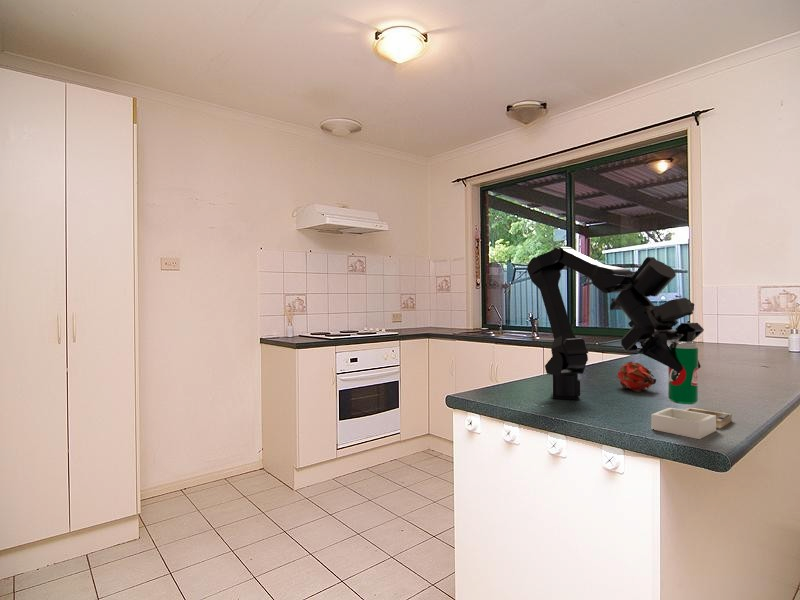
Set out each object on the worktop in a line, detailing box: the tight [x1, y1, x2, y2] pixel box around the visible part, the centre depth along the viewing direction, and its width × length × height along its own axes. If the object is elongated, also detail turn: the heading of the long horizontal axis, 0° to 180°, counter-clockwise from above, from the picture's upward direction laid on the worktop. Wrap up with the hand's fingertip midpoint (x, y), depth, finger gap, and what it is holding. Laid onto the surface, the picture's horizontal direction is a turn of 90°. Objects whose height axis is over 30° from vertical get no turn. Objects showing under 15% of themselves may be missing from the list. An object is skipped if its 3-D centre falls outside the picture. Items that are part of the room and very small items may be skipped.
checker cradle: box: [682, 406, 733, 429], centre depth 99 cm, size 8×8×2 cm
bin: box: [650, 407, 717, 440], centre depth 92 cm, size 9×9×3 cm
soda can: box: [667, 341, 699, 405], centre depth 92 cm, size 5×5×12 cm
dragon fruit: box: [616, 361, 657, 393], centre depth 131 cm, size 8×8×12 cm
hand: (689, 369), depth 91 cm, fingers closed on soda can, 5 cm apart
